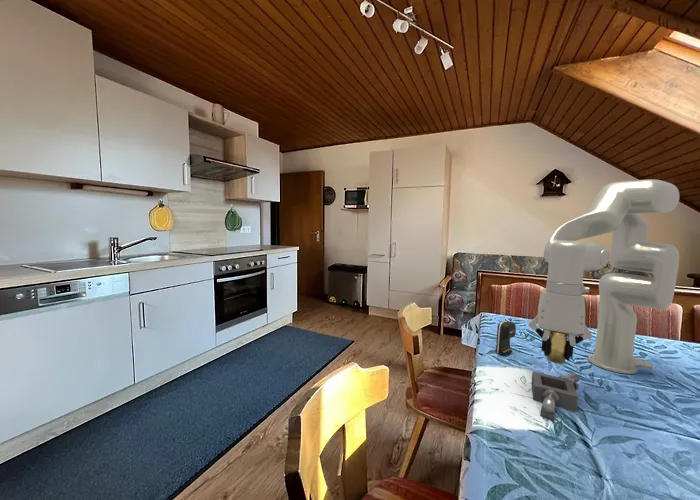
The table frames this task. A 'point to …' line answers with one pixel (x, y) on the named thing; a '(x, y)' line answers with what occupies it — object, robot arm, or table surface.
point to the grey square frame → (558, 385)
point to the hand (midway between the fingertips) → (556, 355)
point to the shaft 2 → (573, 378)
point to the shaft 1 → (549, 403)
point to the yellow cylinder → (557, 347)
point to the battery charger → (505, 337)
